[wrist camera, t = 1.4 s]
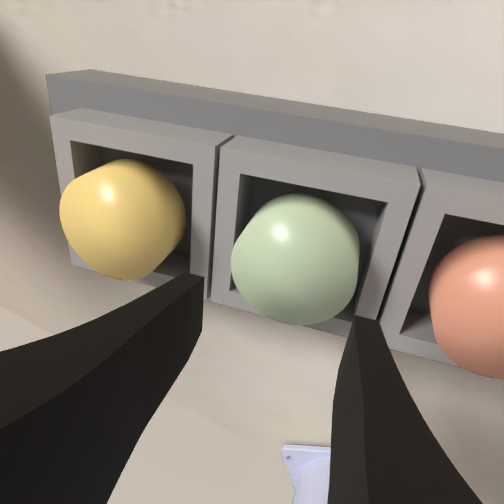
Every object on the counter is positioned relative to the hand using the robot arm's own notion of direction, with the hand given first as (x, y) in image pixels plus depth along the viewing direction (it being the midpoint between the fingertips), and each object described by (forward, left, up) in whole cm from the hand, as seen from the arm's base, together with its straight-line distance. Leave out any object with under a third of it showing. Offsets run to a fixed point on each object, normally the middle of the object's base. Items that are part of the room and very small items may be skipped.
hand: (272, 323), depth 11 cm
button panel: (0, 0, -9) cm, 9 cm away
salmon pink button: (-3, -6, -5) cm, 8 cm away
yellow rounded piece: (+3, +7, -5) cm, 8 cm away
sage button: (0, 0, -5) cm, 5 cm away
